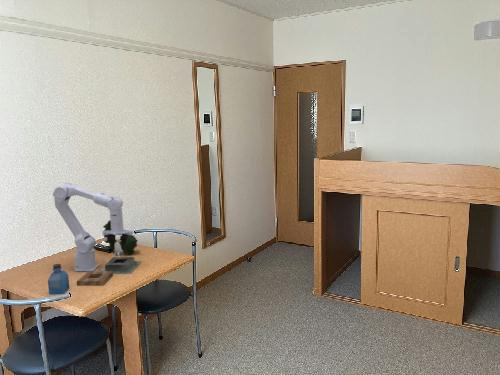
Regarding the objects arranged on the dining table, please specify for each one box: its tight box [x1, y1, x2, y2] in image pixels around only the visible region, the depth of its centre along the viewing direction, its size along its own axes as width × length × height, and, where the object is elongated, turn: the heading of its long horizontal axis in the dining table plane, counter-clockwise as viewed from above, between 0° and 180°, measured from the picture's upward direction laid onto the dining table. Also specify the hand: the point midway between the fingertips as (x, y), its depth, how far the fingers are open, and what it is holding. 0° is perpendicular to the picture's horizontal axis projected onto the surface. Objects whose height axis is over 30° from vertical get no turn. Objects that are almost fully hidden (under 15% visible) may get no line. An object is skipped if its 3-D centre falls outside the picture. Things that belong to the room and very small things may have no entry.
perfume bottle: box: [47, 263, 70, 295], centre depth 180 cm, size 6×6×12 cm
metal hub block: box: [100, 256, 142, 275], centre depth 207 cm, size 16×16×4 cm
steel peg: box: [114, 239, 124, 257], centre depth 205 cm, size 4×4×7 cm
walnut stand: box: [76, 270, 114, 286], centre depth 192 cm, size 12×12×2 cm
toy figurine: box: [102, 220, 138, 256], centre depth 230 cm, size 9×19×25 cm
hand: (118, 248), depth 206 cm, fingers closed on steel peg, 4 cm apart
